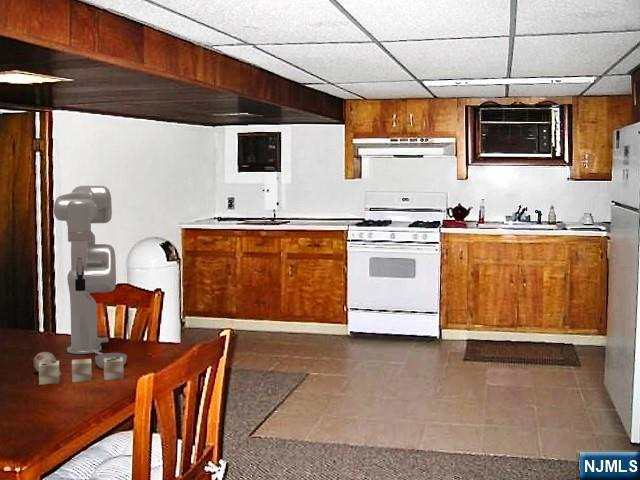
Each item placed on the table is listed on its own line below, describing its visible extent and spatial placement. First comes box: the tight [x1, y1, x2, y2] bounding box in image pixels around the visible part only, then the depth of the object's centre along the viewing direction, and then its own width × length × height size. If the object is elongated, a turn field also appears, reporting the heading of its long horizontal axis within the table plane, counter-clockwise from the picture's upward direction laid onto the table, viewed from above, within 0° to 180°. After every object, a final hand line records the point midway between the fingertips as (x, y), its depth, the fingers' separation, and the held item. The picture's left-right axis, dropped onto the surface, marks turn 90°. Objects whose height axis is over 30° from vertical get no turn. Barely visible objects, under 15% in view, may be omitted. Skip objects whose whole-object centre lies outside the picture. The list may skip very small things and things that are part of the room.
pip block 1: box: [38, 360, 61, 386], centre depth 247 cm, size 6×6×6 cm
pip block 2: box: [103, 357, 125, 381], centre depth 252 cm, size 6×6×6 cm
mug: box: [33, 351, 62, 376], centre depth 256 cm, size 8×10×10 cm
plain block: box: [71, 358, 93, 383], centre depth 250 cm, size 6×6×6 cm
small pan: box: [91, 350, 128, 370], centre depth 270 cm, size 11×18×4 cm, turn 47°
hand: (80, 290), depth 261 cm, fingers closed
